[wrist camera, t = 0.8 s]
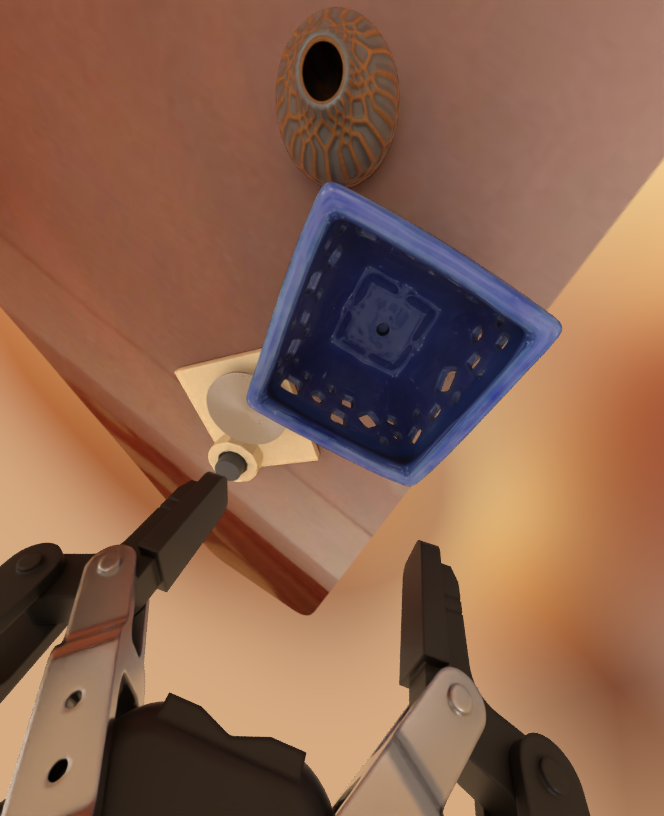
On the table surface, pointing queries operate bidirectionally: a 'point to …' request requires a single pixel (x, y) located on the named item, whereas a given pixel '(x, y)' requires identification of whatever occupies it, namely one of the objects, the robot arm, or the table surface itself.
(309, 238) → the flower pot
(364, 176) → the vase
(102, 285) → the table surface
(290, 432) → the scale
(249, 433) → the weighing plate
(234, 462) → the tare button
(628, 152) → the table surface
